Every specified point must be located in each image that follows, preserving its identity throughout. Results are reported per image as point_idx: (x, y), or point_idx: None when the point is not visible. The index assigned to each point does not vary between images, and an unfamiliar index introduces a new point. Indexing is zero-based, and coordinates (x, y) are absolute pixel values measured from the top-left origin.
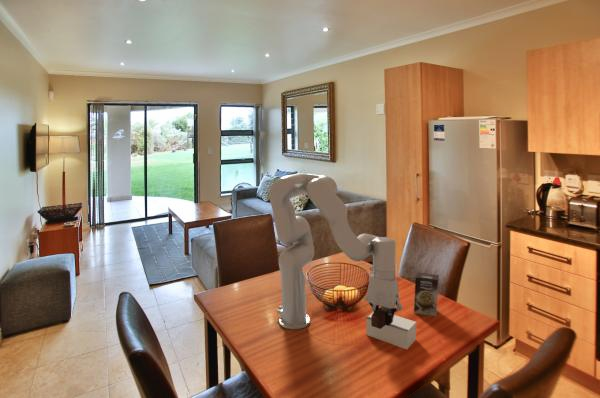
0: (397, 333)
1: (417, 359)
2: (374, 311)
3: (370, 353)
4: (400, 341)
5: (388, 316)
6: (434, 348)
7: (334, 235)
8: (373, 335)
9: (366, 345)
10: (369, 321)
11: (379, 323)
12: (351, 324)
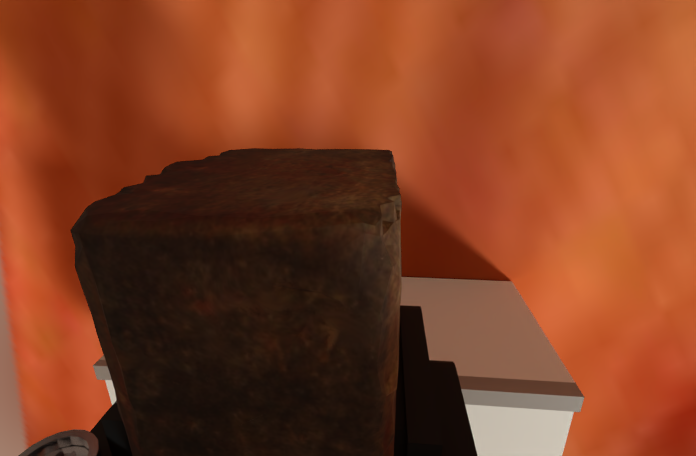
0: None
1: (86, 206)
2: (438, 440)
3: (370, 64)
4: None
5: None
6: (91, 362)
7: None
8: (451, 286)
9: (449, 150)
10: (525, 362)
11: (204, 166)
12: (679, 345)
